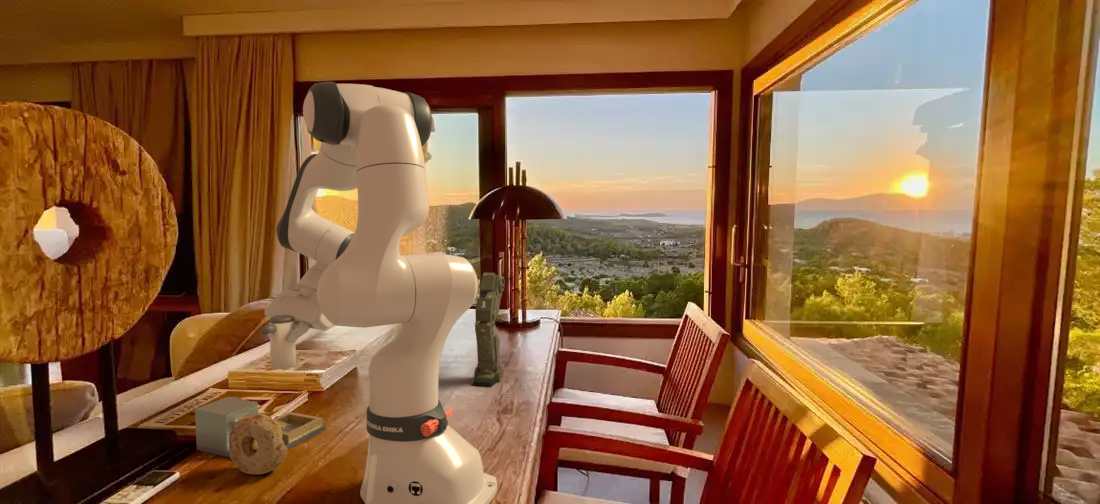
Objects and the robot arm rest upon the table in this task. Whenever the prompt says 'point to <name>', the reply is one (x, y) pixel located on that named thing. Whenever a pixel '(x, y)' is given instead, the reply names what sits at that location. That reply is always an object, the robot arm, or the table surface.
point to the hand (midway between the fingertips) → (280, 339)
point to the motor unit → (226, 412)
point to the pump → (281, 341)
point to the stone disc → (248, 452)
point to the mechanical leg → (488, 331)
